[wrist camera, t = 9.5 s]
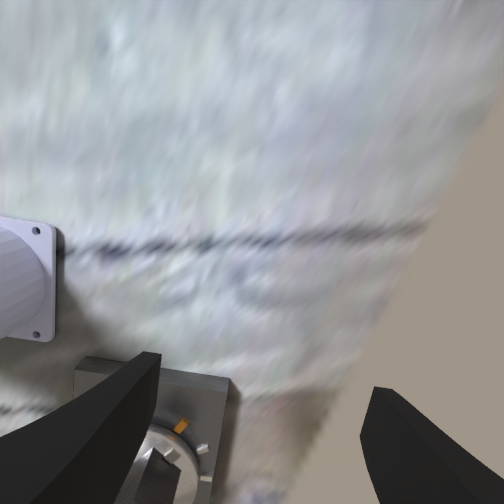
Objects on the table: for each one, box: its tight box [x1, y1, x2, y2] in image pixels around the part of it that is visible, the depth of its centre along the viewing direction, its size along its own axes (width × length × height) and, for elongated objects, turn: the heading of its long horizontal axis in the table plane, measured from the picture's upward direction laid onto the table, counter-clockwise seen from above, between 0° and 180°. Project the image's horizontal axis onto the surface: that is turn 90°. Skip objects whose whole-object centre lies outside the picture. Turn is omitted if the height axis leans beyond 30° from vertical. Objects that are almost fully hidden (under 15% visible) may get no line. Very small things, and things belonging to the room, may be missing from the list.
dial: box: [114, 424, 199, 504], centre depth 20 cm, size 8×8×4 cm
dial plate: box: [73, 357, 229, 504], centre depth 23 cm, size 10×14×2 cm
